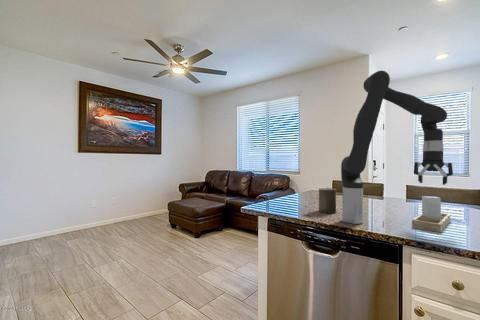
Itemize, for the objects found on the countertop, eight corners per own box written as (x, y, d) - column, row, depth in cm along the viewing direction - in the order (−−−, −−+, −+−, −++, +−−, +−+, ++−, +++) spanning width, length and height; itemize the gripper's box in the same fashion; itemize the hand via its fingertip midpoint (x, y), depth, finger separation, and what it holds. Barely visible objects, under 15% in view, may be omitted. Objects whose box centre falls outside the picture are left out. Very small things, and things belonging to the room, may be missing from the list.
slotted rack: (440, 232, 97) (440, 224, 97) (412, 227, 104) (412, 219, 104) (450, 221, 114) (450, 214, 114) (425, 217, 122) (425, 211, 122)
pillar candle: (337, 214, 129) (338, 187, 129) (320, 213, 130) (320, 187, 131) (333, 210, 138) (333, 186, 139) (317, 209, 140) (317, 185, 140)
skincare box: (436, 220, 111) (436, 196, 111) (441, 223, 107) (441, 198, 107) (421, 219, 112) (421, 196, 112) (426, 222, 108) (426, 197, 108)
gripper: (412, 150, 112) (412, 182, 112) (451, 149, 101) (451, 185, 101) (416, 150, 117) (416, 182, 117) (454, 150, 106) (453, 184, 106)
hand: (432, 183), depth 109 cm, fingers open, 8 cm apart
